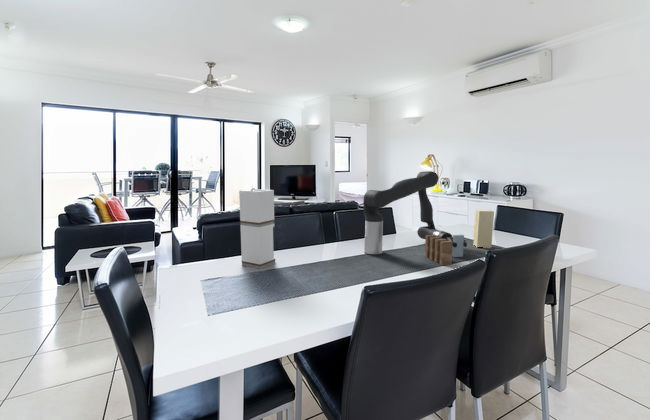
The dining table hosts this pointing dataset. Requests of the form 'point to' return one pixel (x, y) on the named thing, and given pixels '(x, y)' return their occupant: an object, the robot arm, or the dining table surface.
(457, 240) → the slate domino
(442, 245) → the walnut domino
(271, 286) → the dining table surface
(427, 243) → the walnut domino
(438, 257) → the walnut domino
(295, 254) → the dining table surface
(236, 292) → the dining table surface
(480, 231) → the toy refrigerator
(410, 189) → the robot arm
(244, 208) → the white banded tower
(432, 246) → the walnut domino
